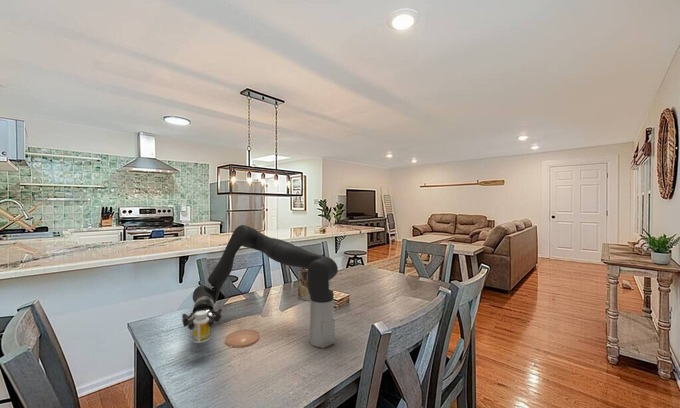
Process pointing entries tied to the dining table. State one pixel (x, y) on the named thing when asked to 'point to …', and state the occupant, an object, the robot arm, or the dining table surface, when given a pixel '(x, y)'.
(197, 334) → the supplement bottle
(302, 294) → the coffee box
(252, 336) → the terracotta saucer
